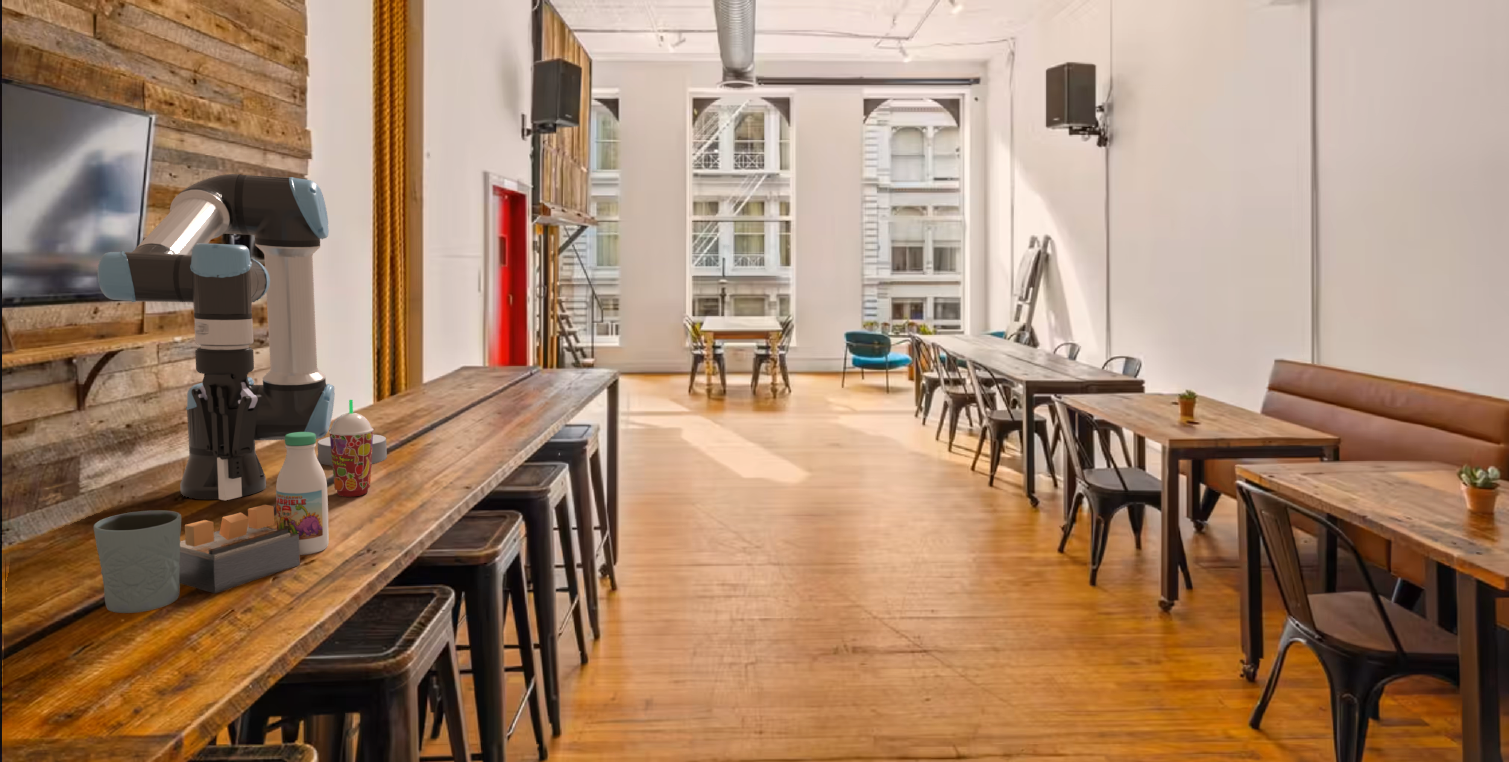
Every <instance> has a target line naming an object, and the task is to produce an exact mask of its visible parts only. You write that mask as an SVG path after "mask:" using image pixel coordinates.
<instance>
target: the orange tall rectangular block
mask: <svg viewBox="0 0 1509 762" xmlns="http://www.w3.org/2000/svg"><path fill="white" fill-rule="evenodd" d="M214 530H215V527H214V521H210V520H206V519H203V520H200V521H196V522H191V523H188V524H187V523H186V524H185V525H184V535H185V536H184V537H185V538H184V540H185V541H186V545H190V546H193V547H195V546H199V545H202V544H206V543H210V542H213V541H214V532H215V531H214Z"/></svg>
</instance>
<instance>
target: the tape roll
mask: <svg viewBox="0 0 1509 762" xmlns="http://www.w3.org/2000/svg"><path fill="white" fill-rule="evenodd" d="M387 451H388V449H387V438H386V436H383V435H380V434H373V443H372V462H371V465H373V464H377V463H380V462H382V461H383V462H384V461H385V460H386V459H387V458H388V457H387V455H388V453H387ZM317 459H318V461H319V463H320V465H326V466H331V467H333V466H332V455H331V444H330V436H328V437H327V436H326V437H323V438H320V439H318V441H317Z"/></svg>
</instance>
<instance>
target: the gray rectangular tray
mask: <svg viewBox="0 0 1509 762" xmlns="http://www.w3.org/2000/svg"><path fill="white" fill-rule="evenodd" d="M219 533H220V530H216V531H214V541H213V542H210V543H206V544H202V545H199V546H195V547H193V546H190V545H186V541H185V539H184V540H180V561H179V566H180V572H179V582H180V585H185V586H188V587H191V588H194V589H198V590H201V591H205V592H207V593H208V592H210V593H212V594H217V593H221V592H223V591H227V590H230V589H232V588H233V589H234V588H235V587H238V586H242V585H244V584H248V583H250V582H253V581H256V580H260V579H262V578H265V577H269V576H272V575H274V574H277V573H281V572H282V571H283V572H284V571H286V570H289V569H292V568H295V567H297V566H298V567H299V566H300V559H301V558H300V555H299V535H296V534H292V533H288V529H286V528H283V529H280V530H277V529H275V528H270V527H268V526H266V527H263V528H259V529H254V528H250V527H249V525H248V528H247V533H246V535H243V536H240V537H236V538H233V539H229V540H227V539H226V538H224V537H223V536H221V535H220V534H219Z"/></svg>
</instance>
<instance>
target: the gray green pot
mask: <svg viewBox="0 0 1509 762" xmlns="http://www.w3.org/2000/svg"><path fill="white" fill-rule="evenodd" d="M181 531H182V514H181V513H180V512H177V511H173V510H162V509H161V510H159V509H158V510H155V509H154V510H141V511H132V512H127V513H121V514H116V515H112V516H109V517H105V518H103V519H100V520H99V521H97V522H95V523H94V524H93V533H94V537H95V538H94V539H95V544H96V551H97V554H98V558H99V564H100V567H101V571H100V574H101V576H102V583H103V588H104V589H103V594H104V595H103V596H104V602H105V606H106V609H107V610H108V611H110V612H113V613H120V614H130V613H131V614H133V613H135V614H136V613H143V612H147V611H153V610H157V609H161V608H163V607H166V606H168V605H171V604H173V603H174V602H176V601H177V600H178V599H179V597H180V590H181V589H180V588H181V586H180V585H181V584H180V582H179V572H180V566H179V561H180V541H181Z"/></svg>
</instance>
